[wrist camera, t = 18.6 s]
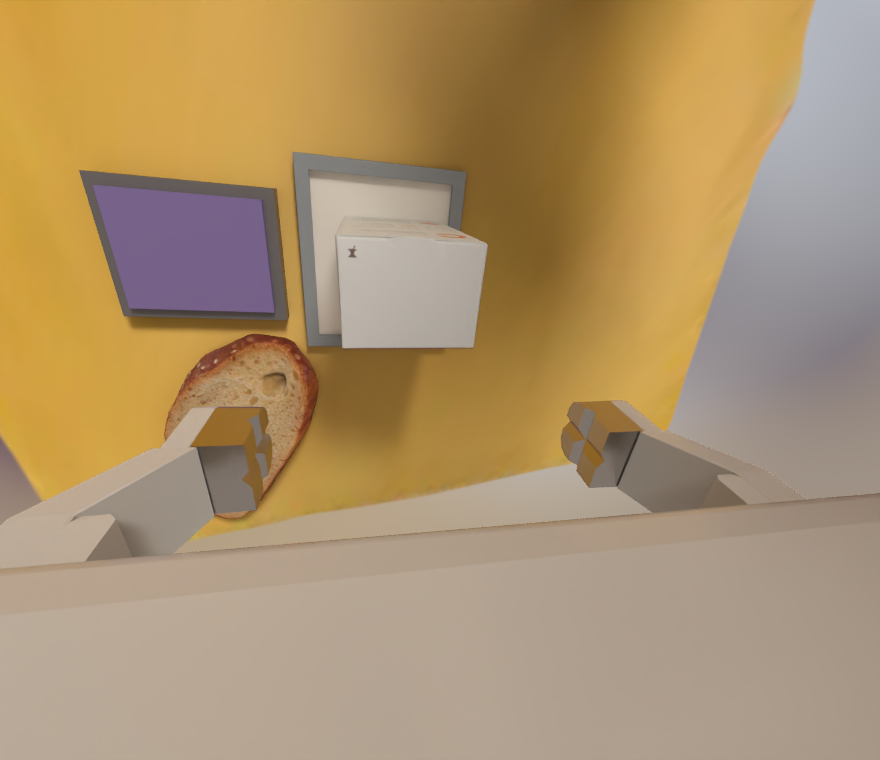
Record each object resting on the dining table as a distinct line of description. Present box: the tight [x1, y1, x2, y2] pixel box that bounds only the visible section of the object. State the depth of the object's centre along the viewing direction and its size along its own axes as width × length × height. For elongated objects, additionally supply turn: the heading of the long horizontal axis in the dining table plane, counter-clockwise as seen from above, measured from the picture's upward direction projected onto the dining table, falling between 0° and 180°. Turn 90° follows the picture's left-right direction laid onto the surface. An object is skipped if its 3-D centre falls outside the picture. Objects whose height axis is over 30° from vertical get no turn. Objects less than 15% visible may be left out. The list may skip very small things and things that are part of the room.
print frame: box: [293, 152, 467, 346], centre depth 31 cm, size 13×15×1 cm
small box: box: [335, 216, 488, 349], centre depth 26 cm, size 8×6×13 cm
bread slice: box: [164, 334, 318, 519], centre depth 35 cm, size 18×18×4 cm
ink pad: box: [79, 170, 289, 320], centre depth 28 cm, size 12×10×2 cm
